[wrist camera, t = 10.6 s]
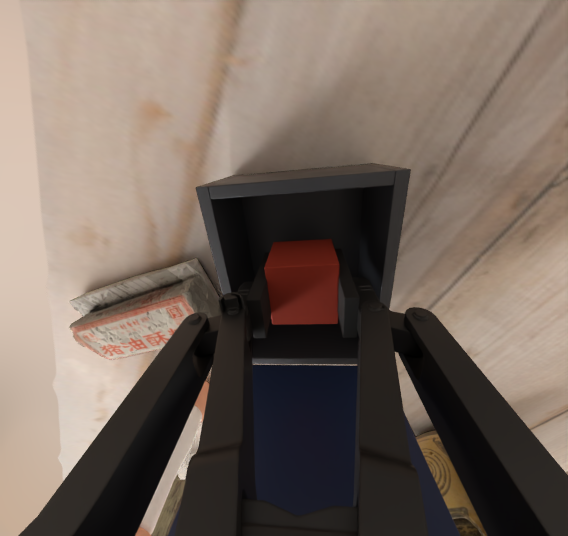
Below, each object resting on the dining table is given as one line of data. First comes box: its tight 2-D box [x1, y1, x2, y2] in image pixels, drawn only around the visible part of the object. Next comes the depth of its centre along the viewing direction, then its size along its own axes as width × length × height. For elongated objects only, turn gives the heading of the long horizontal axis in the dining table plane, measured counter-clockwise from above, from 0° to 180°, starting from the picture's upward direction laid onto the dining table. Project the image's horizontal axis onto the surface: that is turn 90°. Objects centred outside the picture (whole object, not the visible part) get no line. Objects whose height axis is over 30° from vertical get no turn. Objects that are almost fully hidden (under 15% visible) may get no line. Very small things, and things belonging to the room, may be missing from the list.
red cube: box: [264, 239, 339, 325], centre depth 16 cm, size 4×4×4 cm
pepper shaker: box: [135, 381, 209, 536], centre depth 27 cm, size 7×7×19 cm
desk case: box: [196, 163, 411, 364], centre depth 20 cm, size 16×13×8 cm
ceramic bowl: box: [415, 431, 487, 536], centre depth 30 cm, size 22×17×15 cm
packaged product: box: [69, 258, 222, 360], centre depth 27 cm, size 18×5×10 cm
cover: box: [168, 365, 460, 536], centre depth 12 cm, size 16×13×1 cm
